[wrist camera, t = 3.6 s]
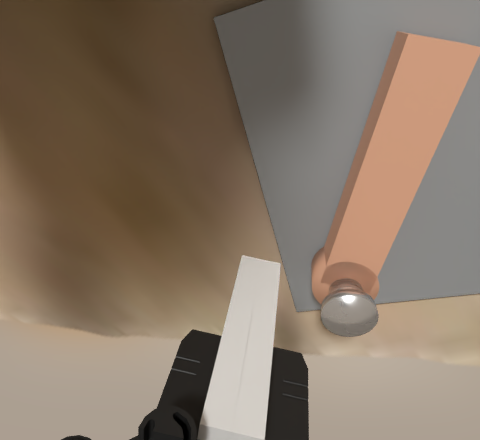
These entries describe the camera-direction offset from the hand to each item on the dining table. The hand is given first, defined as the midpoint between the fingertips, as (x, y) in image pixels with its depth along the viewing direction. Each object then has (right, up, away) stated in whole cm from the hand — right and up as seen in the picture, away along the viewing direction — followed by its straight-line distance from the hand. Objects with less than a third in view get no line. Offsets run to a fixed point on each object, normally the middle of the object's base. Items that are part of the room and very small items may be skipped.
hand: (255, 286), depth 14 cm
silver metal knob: (+8, -3, +14) cm, 17 cm away
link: (+9, +5, +13) cm, 17 cm away
